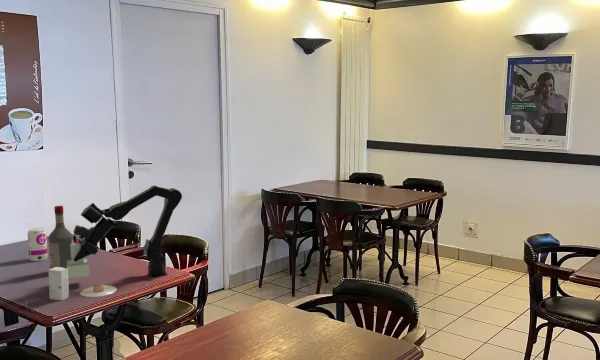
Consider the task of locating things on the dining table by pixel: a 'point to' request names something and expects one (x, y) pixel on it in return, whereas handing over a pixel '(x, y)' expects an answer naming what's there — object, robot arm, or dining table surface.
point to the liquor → (60, 241)
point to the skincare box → (58, 283)
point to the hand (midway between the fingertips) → (73, 259)
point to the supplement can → (37, 244)
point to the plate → (89, 292)
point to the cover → (77, 264)
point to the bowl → (98, 288)
